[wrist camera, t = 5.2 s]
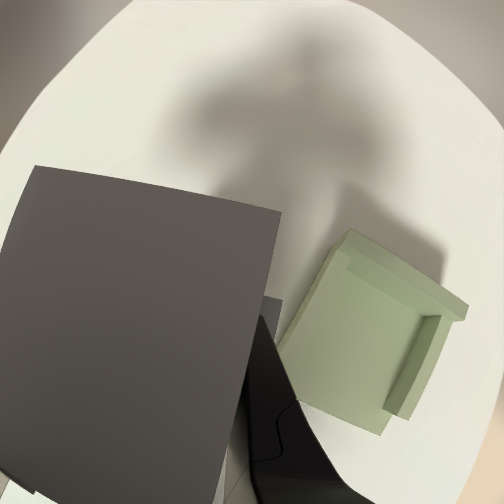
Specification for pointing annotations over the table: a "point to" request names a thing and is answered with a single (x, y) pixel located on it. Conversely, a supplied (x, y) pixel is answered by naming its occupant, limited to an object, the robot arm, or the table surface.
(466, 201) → the table surface
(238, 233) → the grey pillar on base
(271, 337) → the robot arm
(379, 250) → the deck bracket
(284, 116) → the table surface
